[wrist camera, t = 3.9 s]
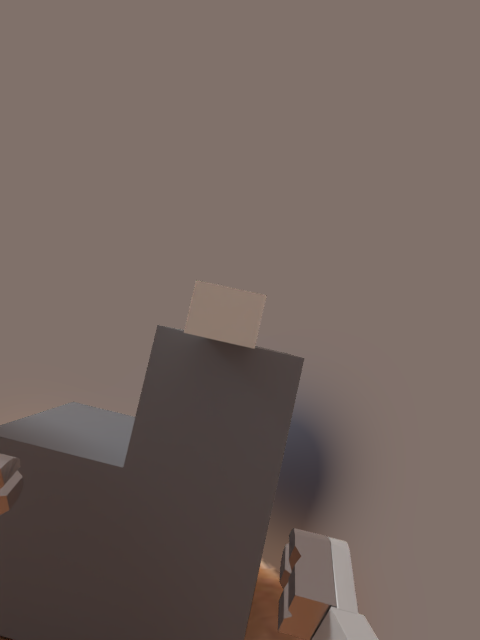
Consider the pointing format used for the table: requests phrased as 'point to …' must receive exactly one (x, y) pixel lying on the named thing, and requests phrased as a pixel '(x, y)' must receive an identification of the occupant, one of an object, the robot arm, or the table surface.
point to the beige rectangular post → (225, 314)
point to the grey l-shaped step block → (149, 500)
